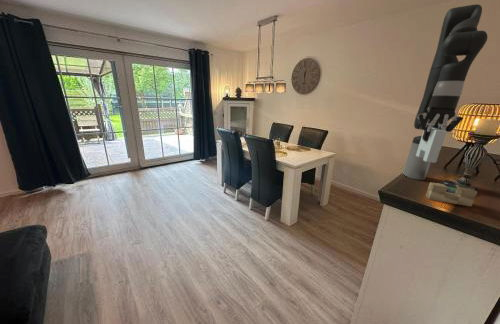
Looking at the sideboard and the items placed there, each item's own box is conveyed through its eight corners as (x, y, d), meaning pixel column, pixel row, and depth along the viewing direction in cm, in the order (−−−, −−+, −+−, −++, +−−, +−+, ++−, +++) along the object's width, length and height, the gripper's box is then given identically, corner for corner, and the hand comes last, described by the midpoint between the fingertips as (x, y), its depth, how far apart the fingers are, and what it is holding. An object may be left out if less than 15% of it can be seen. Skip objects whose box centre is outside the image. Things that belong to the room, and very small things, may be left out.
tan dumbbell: (425, 195, 82) (430, 182, 80) (466, 202, 78) (472, 188, 76) (428, 199, 79) (433, 185, 77) (471, 206, 75) (477, 191, 73)
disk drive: (443, 184, 97) (431, 189, 90) (445, 179, 96) (433, 184, 89) (474, 193, 89) (463, 200, 81) (476, 187, 88) (466, 193, 80)
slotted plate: (415, 155, 86) (424, 127, 82) (424, 156, 85) (433, 127, 81) (426, 161, 77) (436, 130, 73) (435, 162, 76) (446, 131, 72)
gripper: (464, 96, 74) (448, 142, 80) (418, 94, 79) (406, 138, 84) (478, 95, 68) (459, 145, 73) (427, 93, 72) (412, 141, 77)
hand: (430, 141), depth 78 cm, fingers closed on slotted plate, 3 cm apart
